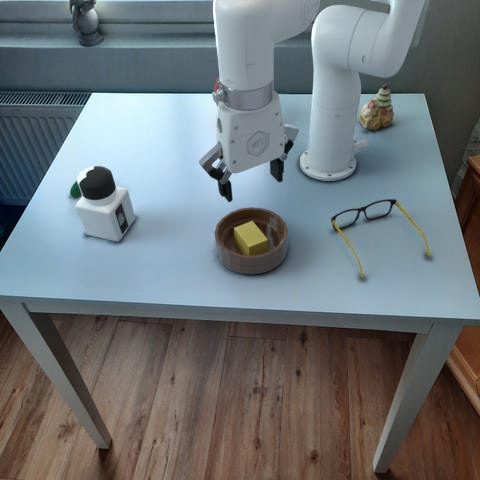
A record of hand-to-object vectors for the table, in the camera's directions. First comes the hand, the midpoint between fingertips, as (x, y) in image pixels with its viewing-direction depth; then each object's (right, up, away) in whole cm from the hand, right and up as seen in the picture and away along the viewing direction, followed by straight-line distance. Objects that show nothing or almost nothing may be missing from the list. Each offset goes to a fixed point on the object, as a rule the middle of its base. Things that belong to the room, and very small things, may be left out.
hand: (251, 187), depth 81 cm
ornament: (+31, +25, +36) cm, 54 cm away
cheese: (0, -9, +10) cm, 14 cm away
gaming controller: (-34, +5, +24) cm, 42 cm away
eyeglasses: (+25, -8, +11) cm, 28 cm away
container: (-29, -4, +17) cm, 34 cm away
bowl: (0, -9, +11) cm, 14 cm away
